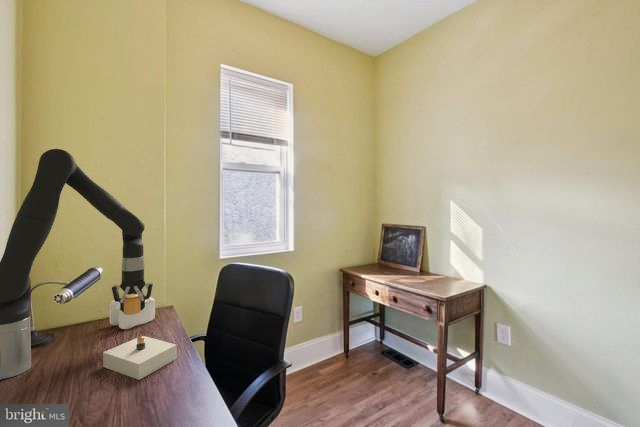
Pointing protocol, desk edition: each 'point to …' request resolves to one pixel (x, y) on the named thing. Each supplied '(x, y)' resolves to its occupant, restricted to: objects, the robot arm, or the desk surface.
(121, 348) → the box
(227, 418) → the desk surface
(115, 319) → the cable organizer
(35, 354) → the desk surface
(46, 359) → the desk surface
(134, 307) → the orange lidded jar
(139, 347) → the pigtail
